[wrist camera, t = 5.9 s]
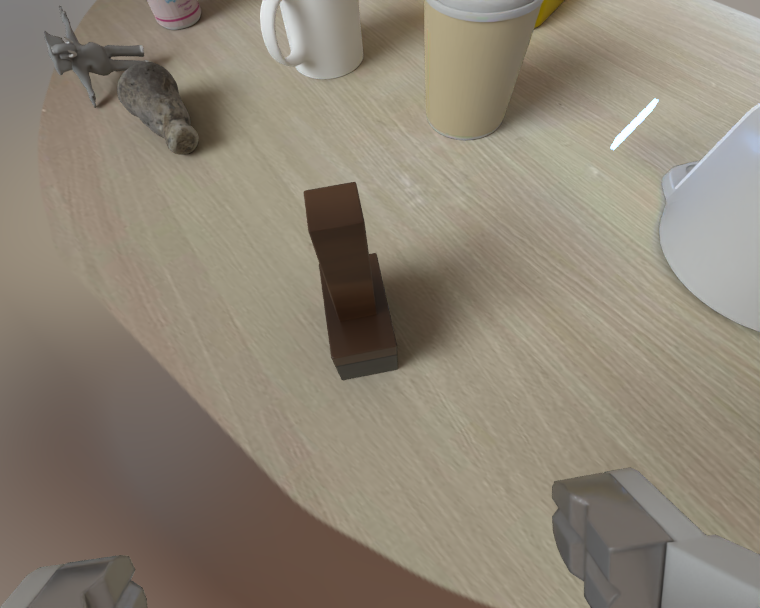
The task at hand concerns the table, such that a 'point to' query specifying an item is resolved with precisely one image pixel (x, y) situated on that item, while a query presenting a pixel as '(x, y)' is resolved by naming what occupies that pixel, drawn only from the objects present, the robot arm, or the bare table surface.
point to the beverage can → (175, 12)
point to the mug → (316, 35)
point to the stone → (158, 105)
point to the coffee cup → (473, 61)
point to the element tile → (546, 10)
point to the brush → (350, 283)
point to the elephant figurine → (88, 56)
